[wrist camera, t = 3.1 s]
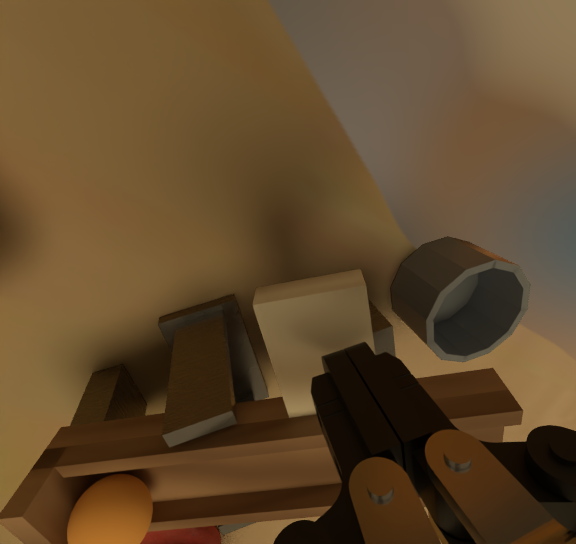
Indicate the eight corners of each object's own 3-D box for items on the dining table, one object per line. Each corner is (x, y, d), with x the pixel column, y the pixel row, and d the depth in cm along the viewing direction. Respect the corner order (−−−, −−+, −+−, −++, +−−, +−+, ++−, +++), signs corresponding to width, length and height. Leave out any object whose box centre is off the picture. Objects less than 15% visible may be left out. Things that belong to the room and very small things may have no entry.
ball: (73, 468, 16) (32, 553, 13) (143, 450, 16) (118, 532, 13) (107, 507, 18) (78, 591, 15) (170, 491, 18) (154, 572, 15)
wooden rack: (73, 344, 21) (-8, 487, 13) (352, 256, 23) (434, 332, 15) (134, 435, 25) (102, 587, 17) (367, 354, 27) (437, 455, 19)
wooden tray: (-13, 336, 14) (-120, 420, 11) (503, 242, 12) (597, 311, 8) (114, 493, 20) (72, 584, 16) (486, 453, 17) (537, 551, 14)
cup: (387, 255, 24) (424, 283, 20) (481, 225, 25) (535, 246, 21) (395, 337, 27) (428, 375, 23) (477, 308, 28) (523, 340, 24)
